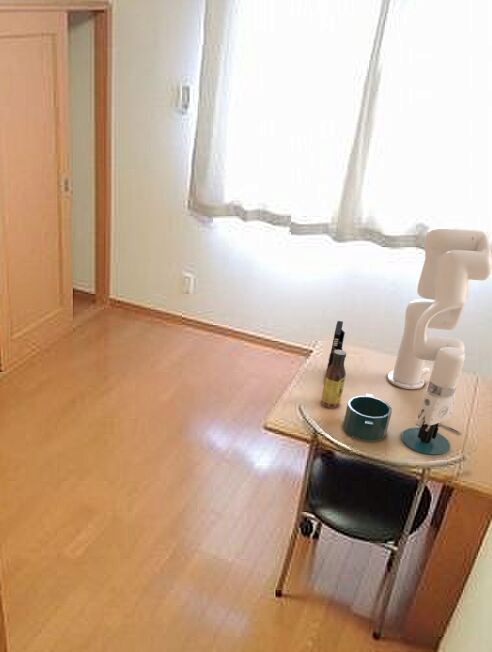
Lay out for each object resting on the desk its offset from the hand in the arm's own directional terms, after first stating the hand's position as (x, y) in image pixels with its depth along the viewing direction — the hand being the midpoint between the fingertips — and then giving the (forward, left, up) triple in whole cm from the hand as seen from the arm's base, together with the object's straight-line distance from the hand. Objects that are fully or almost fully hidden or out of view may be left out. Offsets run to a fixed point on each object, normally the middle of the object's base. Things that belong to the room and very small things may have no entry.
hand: (426, 437), depth 203 cm
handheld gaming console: (-2, -45, -2) cm, 45 cm away
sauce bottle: (+11, -31, -2) cm, 33 cm away
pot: (+12, -14, -2) cm, 19 cm away
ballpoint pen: (-13, -4, -3) cm, 14 cm away
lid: (0, 0, -2) cm, 2 cm away
